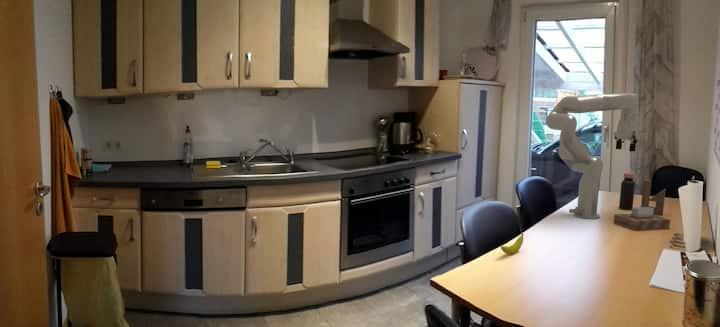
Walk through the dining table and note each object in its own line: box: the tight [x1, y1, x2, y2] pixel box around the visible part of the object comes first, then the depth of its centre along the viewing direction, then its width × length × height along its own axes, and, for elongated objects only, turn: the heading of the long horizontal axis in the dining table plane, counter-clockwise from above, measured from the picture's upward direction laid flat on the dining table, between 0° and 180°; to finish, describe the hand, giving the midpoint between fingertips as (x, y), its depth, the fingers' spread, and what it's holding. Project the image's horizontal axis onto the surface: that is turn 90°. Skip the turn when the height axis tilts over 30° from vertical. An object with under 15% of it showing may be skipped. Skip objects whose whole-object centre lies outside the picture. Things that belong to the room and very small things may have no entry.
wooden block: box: [639, 179, 667, 217], centre depth 287 cm, size 4×11×18 cm, turn 55°
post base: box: [613, 213, 671, 232], centre depth 260 cm, size 20×14×4 cm
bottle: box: [618, 172, 636, 211], centre depth 297 cm, size 7×7×20 cm
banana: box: [500, 233, 525, 255], centre depth 210 cm, size 3×19×6 cm, turn 139°
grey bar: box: [630, 206, 654, 219], centre depth 260 cm, size 9×4×8 cm, turn 105°
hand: (625, 150), depth 280 cm, fingers open, 9 cm apart
